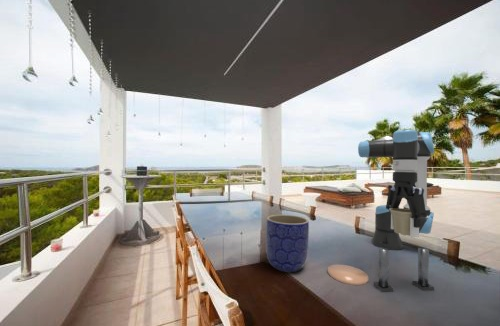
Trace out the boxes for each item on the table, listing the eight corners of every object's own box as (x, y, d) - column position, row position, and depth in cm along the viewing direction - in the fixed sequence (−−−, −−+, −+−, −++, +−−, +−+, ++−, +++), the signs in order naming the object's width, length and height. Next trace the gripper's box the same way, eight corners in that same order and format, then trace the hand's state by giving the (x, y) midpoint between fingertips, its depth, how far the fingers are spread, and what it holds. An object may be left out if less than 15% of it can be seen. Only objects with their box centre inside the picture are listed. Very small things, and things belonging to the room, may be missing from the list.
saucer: (353, 266, 96) (353, 264, 96) (377, 284, 81) (377, 281, 81) (321, 267, 95) (321, 264, 95) (339, 285, 80) (339, 282, 80)
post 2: (423, 284, 83) (423, 246, 83) (434, 290, 79) (434, 251, 79) (412, 284, 83) (413, 246, 83) (423, 290, 78) (423, 251, 79)
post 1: (384, 284, 81) (384, 247, 82) (393, 291, 77) (393, 251, 77) (373, 285, 81) (374, 247, 81) (381, 291, 77) (382, 251, 77)
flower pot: (383, 229, 85) (383, 207, 85) (405, 229, 86) (405, 207, 86) (402, 237, 76) (402, 212, 76) (427, 237, 76) (427, 212, 76)
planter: (281, 280, 82) (282, 225, 83) (257, 261, 99) (258, 215, 99) (317, 271, 91) (318, 221, 91) (289, 255, 107) (290, 213, 108)
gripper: (376, 170, 91) (375, 224, 91) (420, 171, 70) (420, 242, 70) (392, 171, 92) (391, 224, 91) (441, 172, 71) (441, 242, 70)
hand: (404, 232), depth 81 cm, fingers closed on flower pot, 8 cm apart
